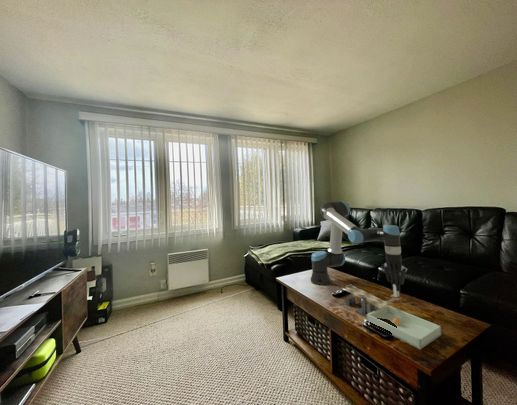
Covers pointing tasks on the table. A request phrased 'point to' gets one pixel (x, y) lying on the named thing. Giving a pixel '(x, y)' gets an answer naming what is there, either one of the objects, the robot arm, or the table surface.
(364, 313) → the stand
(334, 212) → the robot arm
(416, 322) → the tray
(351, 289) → the lever
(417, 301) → the table surface
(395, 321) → the ball
